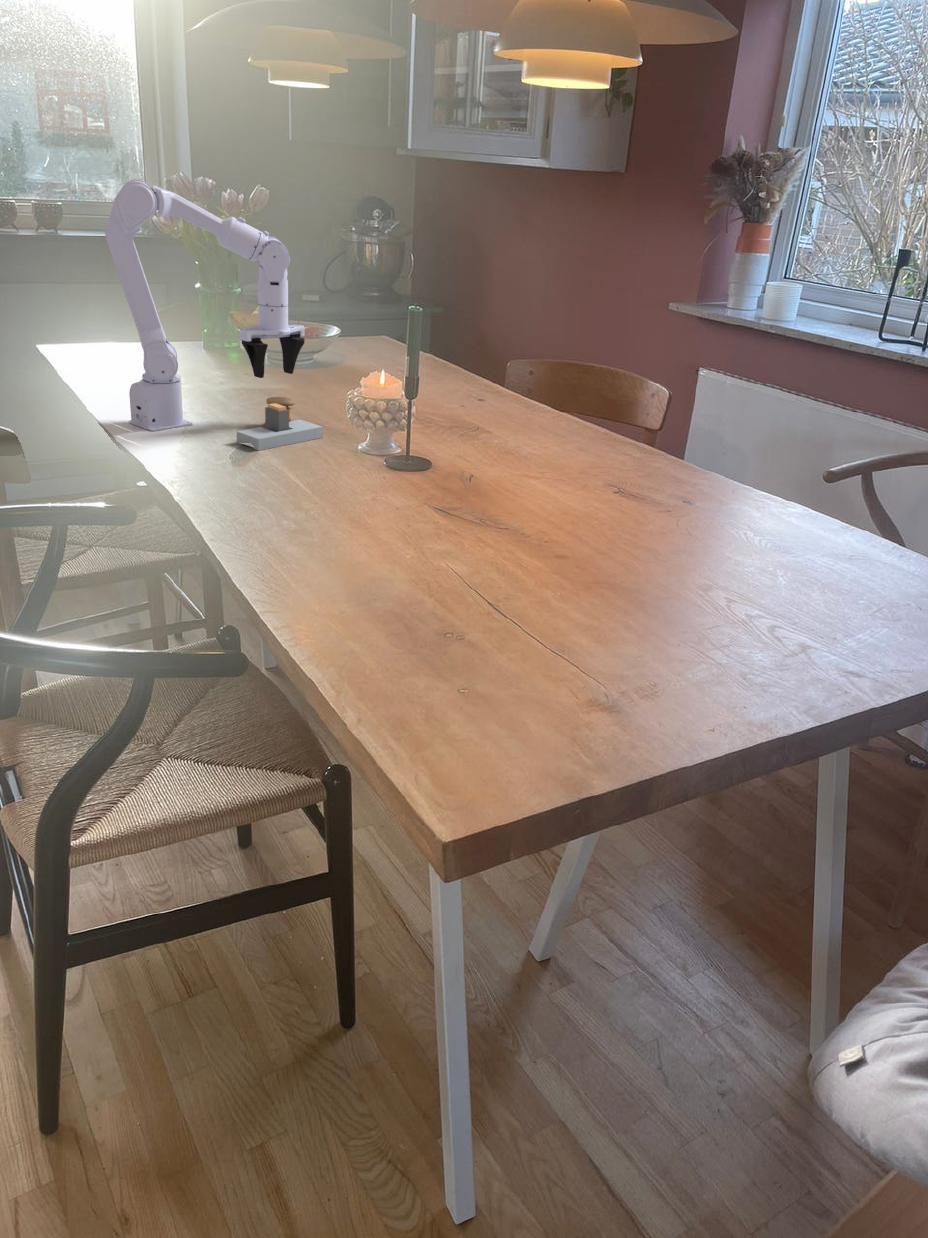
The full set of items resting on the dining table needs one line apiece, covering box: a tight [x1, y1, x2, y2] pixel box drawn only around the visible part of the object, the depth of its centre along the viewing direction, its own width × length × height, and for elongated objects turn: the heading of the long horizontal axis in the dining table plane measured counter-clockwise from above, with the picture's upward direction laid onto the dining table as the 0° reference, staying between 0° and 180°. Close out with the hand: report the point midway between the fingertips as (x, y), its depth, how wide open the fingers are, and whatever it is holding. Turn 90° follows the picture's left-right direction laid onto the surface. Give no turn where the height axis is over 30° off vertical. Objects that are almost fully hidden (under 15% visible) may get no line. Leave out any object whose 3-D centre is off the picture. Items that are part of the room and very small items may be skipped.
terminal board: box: [236, 419, 324, 452], centre depth 183 cm, size 16×6×2 cm, turn 140°
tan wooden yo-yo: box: [264, 396, 296, 427], centre depth 192 cm, size 6×6×5 cm
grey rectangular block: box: [264, 403, 289, 432], centre depth 183 cm, size 2×4×7 cm, turn 50°
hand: (273, 374), depth 190 cm, fingers open, 7 cm apart
